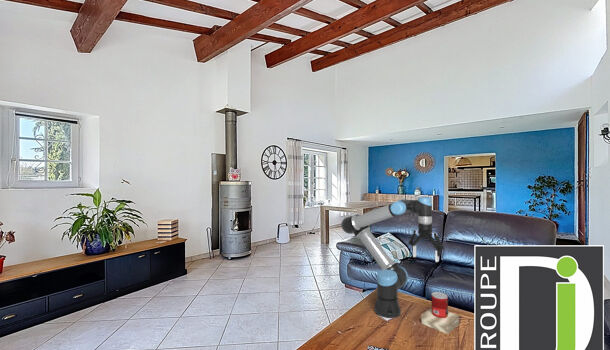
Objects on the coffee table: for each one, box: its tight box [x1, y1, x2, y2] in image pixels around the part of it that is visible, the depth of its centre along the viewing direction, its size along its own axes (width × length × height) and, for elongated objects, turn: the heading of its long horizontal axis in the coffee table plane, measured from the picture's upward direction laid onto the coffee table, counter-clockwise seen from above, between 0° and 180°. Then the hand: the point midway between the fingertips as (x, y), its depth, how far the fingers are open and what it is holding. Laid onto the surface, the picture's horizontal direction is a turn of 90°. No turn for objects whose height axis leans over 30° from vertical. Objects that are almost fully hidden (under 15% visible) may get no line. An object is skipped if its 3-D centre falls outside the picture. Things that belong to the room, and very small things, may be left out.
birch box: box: [420, 307, 460, 335], centre depth 154 cm, size 14×14×5 cm
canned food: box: [431, 291, 449, 318], centre depth 154 cm, size 8×8×11 cm
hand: (425, 259), depth 167 cm, fingers open, 13 cm apart
